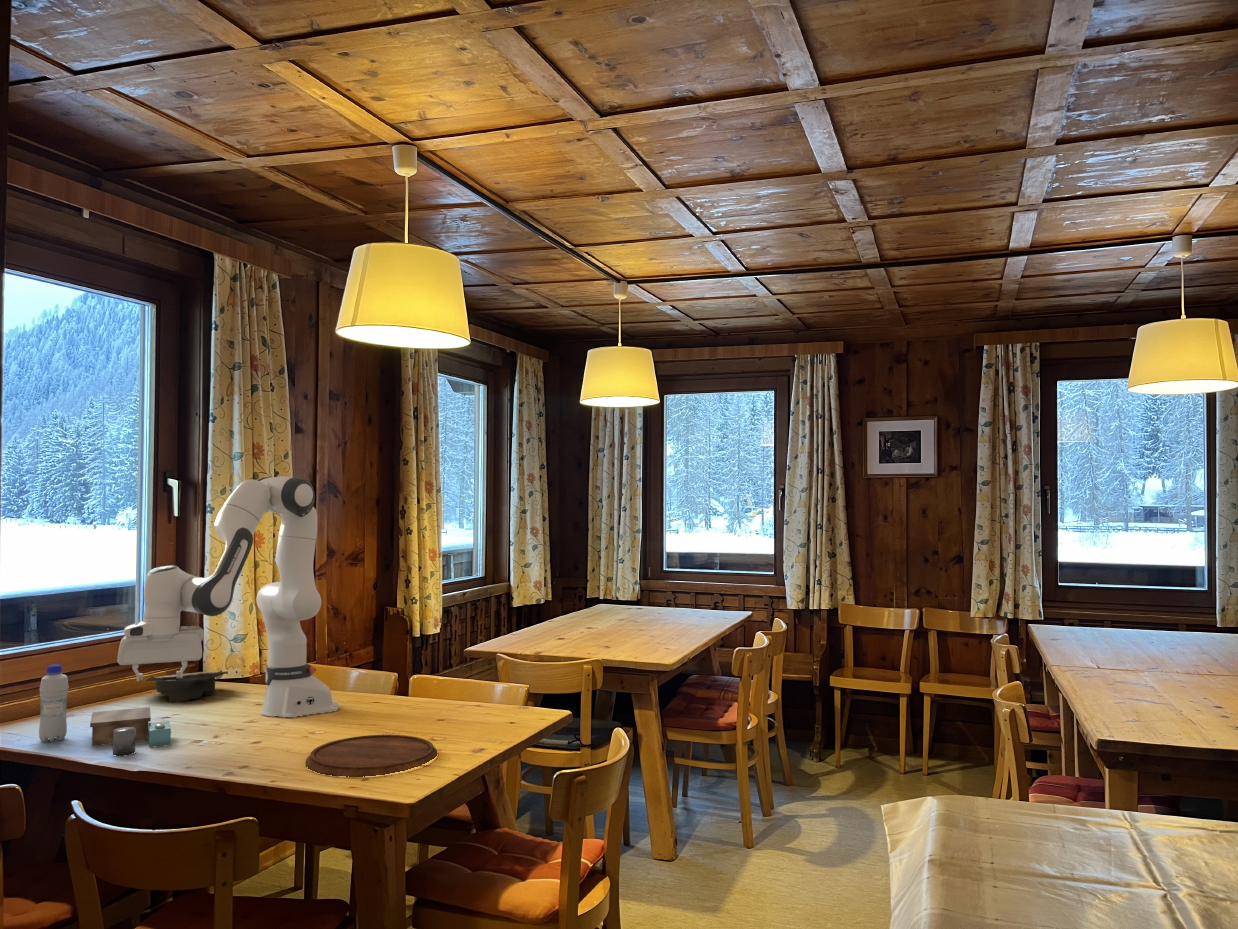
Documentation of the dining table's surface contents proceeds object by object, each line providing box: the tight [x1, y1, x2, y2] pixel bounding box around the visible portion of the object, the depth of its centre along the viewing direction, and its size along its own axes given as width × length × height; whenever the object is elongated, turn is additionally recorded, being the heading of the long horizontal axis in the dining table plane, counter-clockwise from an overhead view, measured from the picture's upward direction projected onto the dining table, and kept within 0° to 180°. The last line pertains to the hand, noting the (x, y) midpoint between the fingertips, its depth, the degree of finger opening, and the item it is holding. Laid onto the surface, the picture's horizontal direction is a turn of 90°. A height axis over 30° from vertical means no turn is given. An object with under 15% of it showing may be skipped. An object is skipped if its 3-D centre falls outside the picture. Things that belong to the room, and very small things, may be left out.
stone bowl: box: [144, 671, 229, 703], centre depth 297 cm, size 25×25×9 cm
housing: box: [147, 720, 172, 748], centre depth 241 cm, size 5×9×5 cm, turn 29°
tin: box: [112, 727, 137, 757], centre depth 230 cm, size 5×5×6 cm
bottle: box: [38, 664, 70, 743], centre depth 243 cm, size 7×7×20 cm
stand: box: [89, 706, 152, 747], centre depth 245 cm, size 14×14×6 cm
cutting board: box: [304, 734, 439, 777], centre depth 227 cm, size 32×32×3 cm
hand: (159, 679), depth 241 cm, fingers open, 8 cm apart
